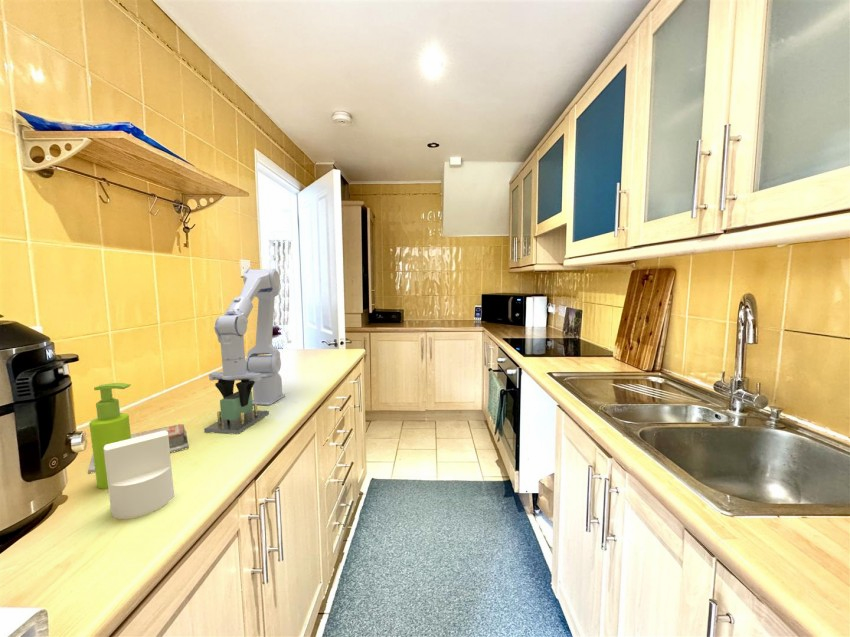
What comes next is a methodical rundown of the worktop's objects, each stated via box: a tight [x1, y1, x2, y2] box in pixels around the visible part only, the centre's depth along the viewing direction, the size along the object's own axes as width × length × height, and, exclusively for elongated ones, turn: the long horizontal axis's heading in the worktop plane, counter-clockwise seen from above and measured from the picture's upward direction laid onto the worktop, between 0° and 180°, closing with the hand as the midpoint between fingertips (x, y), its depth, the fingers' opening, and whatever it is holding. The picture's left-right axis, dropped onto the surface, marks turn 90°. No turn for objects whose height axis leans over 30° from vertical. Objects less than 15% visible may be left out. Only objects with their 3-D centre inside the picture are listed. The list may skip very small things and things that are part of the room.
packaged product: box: [87, 423, 190, 474], centre depth 85 cm, size 18×5×10 cm
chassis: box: [203, 404, 270, 435], centre depth 101 cm, size 14×10×4 cm
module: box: [219, 390, 254, 420], centre depth 101 cm, size 8×4×6 cm, turn 172°
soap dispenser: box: [88, 382, 132, 490], centre depth 72 cm, size 6×7×20 cm
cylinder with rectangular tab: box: [104, 430, 175, 520], centre depth 65 cm, size 9×9×12 cm
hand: (237, 405), depth 101 cm, fingers closed on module, 4 cm apart
